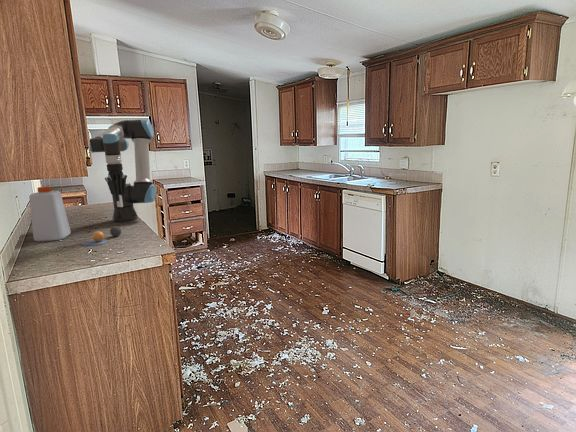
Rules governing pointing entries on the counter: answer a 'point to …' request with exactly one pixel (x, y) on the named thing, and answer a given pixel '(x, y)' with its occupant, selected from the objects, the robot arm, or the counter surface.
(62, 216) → the plastic bottle
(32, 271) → the counter surface
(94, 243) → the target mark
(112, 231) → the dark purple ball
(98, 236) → the orange ball
